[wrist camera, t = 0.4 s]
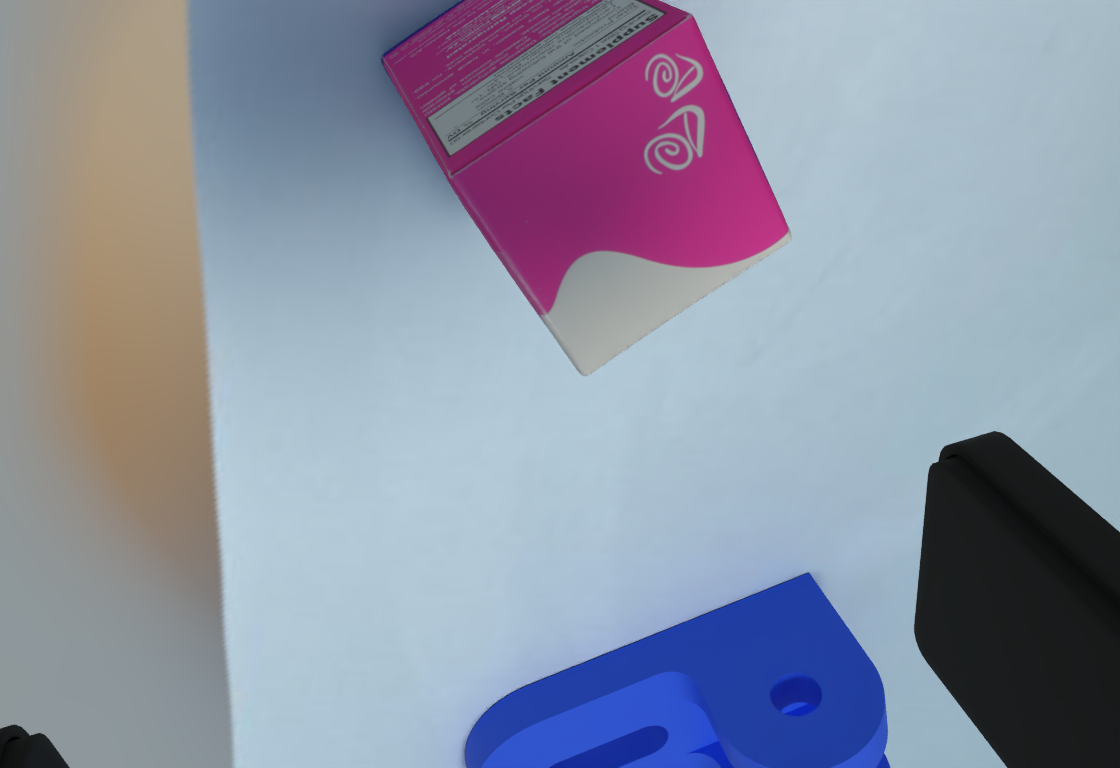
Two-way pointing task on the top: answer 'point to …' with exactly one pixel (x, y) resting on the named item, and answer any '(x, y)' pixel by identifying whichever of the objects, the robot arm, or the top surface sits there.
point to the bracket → (705, 697)
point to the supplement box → (591, 158)
